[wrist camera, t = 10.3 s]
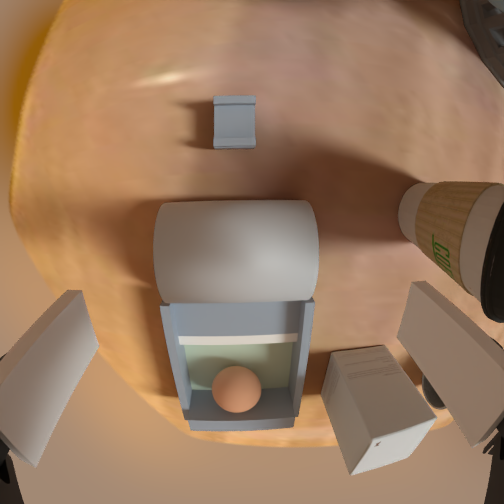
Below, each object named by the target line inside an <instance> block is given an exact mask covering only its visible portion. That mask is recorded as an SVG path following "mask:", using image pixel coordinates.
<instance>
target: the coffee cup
mask: <svg viewBox="0 0 504 504" xmlns="http://www.w3.org/2000/svg"><path fill="white" fill-rule="evenodd" d="M398 221H399V226H400V229H401V231H402V233H403V234H404V236H405V237H406V238H407V239H408V240H410V241H411V242H412V243H413V244H415V245H416V246H417V247H418V248H420V249H421V251H422V252H423V253H424V254H425V255H426V256H427V257H428V258H430V259H431V260H432V261H433V262H434V263H435V264H437V265H438V266H439V267H440V268H441V269H442V270H443V271H445V272H446V273H447V274H448V275H449V276H450V277H451V278H452V279H453V280H454V281H456V282H457V283H458V284H459V285H460V286H461V287H462V288H463V289H464V290H465V291H466V292H467V293H469V294H471V295H472V296H474V297H475V298H477V299H478V300H479V301H480V302H481V306H482V309H483V312H484V314H485V315H486V316H487V317H488V318H489V319H491V320H493V321H496V322H498V323H504V184H500V183H490V182H446V181H444V182H439V183H418V184H415V185H413V186H412V187H410V188H409V189H408V190H407V191H406V192H405V194H404V196H403V197H402V200H401V202H400V206H399V211H398Z"/></svg>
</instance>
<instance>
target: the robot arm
mask: <svg viewBox="0 0 504 504" xmlns="http://www.w3.org/2000/svg"><path fill="white" fill-rule="evenodd" d="M488 1H489V2H490V3H491V4H492V5H493V6H495V7H496V8H497V9H499V10H500V11H502V12H504V0H488ZM397 338H398V340H399V341H400V342H401V344H402V345H403V346H404V348H405V349H406V350H407V352H408V353H409V354H410V356H411V357H412V358H413V360H414V361H415V363H416V364H417V365H418V367H419V368H420V370H421V371H422V372H423V374H424V375H425V377H426V378H427V379H428V381H429V382H430V384H431V385H432V387H433V388H434V390H435V391H436V393H437V394H438V395H439V397H440V398H441V400H442V401H443V403H444V404H445V406H446V407H447V409H448V410H449V412H450V414H451V415H452V417H453V418H454V420H455V421H456V423H457V424H458V426H459V428H460V429H461V431H462V432H463V434H464V436H465V437H466V439H467V441H468V442H469V444H470V446H471V447H472V448H473V447H475V446H476V445H478V444H480V443H481V442H483V441H484V440H486V439H487V438H488V437H489V436H490V434H491V433H492V432H493V431H494V430H495V428H497V429H498V431H499V432H498V433H497V434H496V435H495V436H494V438H493V439H492V440H491V441H490V442H489V443H488V444H487V446H486V447H485V448H484V450H483V453H486V452H487V451H488V450H489V449H490V448H491V446H492V445H494V447H493V448H492V449H491V450H490V451H489V453H488V454H491V455H493V457H492V465H491V471H490V477H489V483H488V488H487V493H486V497H485V502H484V504H504V350H503V347H502V346H501V345H500V344H499V343H497V342H496V341H495V340H494V339H492V338H491V337H489V336H488V335H487V334H486V333H485V332H484V331H483V330H482V329H481V328H480V327H479V326H477V325H476V324H475V323H474V322H473V321H472V320H471V319H470V318H469V317H467V316H466V315H465V314H464V313H463V312H462V311H461V310H460V309H458V308H457V307H456V306H455V305H454V304H453V303H451V302H450V301H449V300H448V299H447V298H446V297H444V296H443V295H442V294H441V293H440V292H438V291H437V290H436V289H435V288H434V287H432V286H431V285H430V284H429V283H427V282H426V281H417V282H411V287H410V291H409V295H408V299H407V303H406V307H405V311H404V314H403V318H402V321H401V325H400V328H399V331H398V335H397ZM98 348H99V344H98V341H97V338H96V335H95V332H94V329H93V326H92V323H91V320H90V317H89V314H88V310H87V307H86V303H85V300H84V296H83V293H82V290H67V291H66V292H65V293H64V294H63V295H62V296H61V297H60V298H59V299H57V300H56V302H54V303H53V305H51V306H50V308H49V309H47V310H46V311H45V312H44V314H43V315H42V316H41V317H40V318H39V319H38V320H37V321H36V322H35V323H34V324H33V325H32V326H31V327H30V328H29V329H28V330H27V331H26V333H25V334H24V335H23V336H22V337H21V338H20V339H19V340H18V341H17V343H16V344H15V345H14V346H13V347H12V348H11V349H10V350H9V352H8V353H6V354H5V355H4V356H2V357H1V358H0V504H24V502H23V499H22V496H21V493H20V489H19V485H18V482H17V478H16V474H15V470H14V466H13V461H12V459H11V457H10V456H9V455H8V452H9V450H11V451H12V452H13V453H14V454H15V455H16V456H17V457H18V458H19V459H20V460H23V461H24V462H26V463H28V464H30V465H32V466H34V467H37V464H38V462H39V460H40V457H41V456H42V453H43V451H44V449H45V447H46V444H47V442H48V440H49V438H50V436H51V434H52V432H53V430H54V428H55V426H56V424H57V422H58V419H59V418H60V416H61V414H62V412H63V410H64V408H65V406H66V404H67V402H68V400H69V398H70V397H71V395H72V393H73V391H74V389H75V387H76V385H77V384H78V382H79V380H80V378H81V377H82V375H83V373H84V371H85V370H86V368H87V366H88V364H89V363H90V361H91V359H92V358H93V356H94V354H95V353H96V351H97V349H98Z"/></svg>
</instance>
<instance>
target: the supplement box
mask: <svg viewBox="0 0 504 504" xmlns="http://www.w3.org/2000/svg"><path fill="white" fill-rule="evenodd" d="M321 397H322V400H323V402H324V405H325V408H326V410H327V413H328V416H329V419H330V421H331V424H332V427H333V430H334V432H335V435H336V438H337V441H338V444H339V447H340V449H341V452H342V454H343V457H344V460H345V463H346V466H347V469H348V472H349V474H350V475H354V474H358V473H361V472H364V471H368V470H372V469H375V468H378V467H381V466H385V465H387V464H390V463H394V462H396V461H399V460H402V459H405V458H407V457H409V456H410V454H411V453H412V452H413V451H414V449H415V448H416V447H417V445H418V444H419V443H420V442H421V440H422V439H423V438H424V436H425V434H426V433H427V432H428V431H429V429H430V428H431V426H432V425H433V423H434V422H435V420H436V419H437V416H436V415H435V414H434V412H433V411H432V409H431V408H430V407H429V405H428V404H427V402H426V401H425V399H424V398H423V397H422V395H421V394H420V392H419V391H418V390H417V388H416V387H415V385H414V384H413V382H412V381H411V380H410V378H409V377H408V376H407V374H406V373H405V371H404V370H403V369H402V367H401V366H400V365H399V363H398V362H397V361H396V359H395V358H394V357H393V355H392V354H391V353H390V351H389V350H388V349H387V347H386V346H385V345H382V346H376V347H369V348H362V349H355V350H346V351H337V352H332V353H331V356H330V360H329V364H328V368H327V372H326V376H325V380H324V383H323V387H322V391H321Z"/></svg>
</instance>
